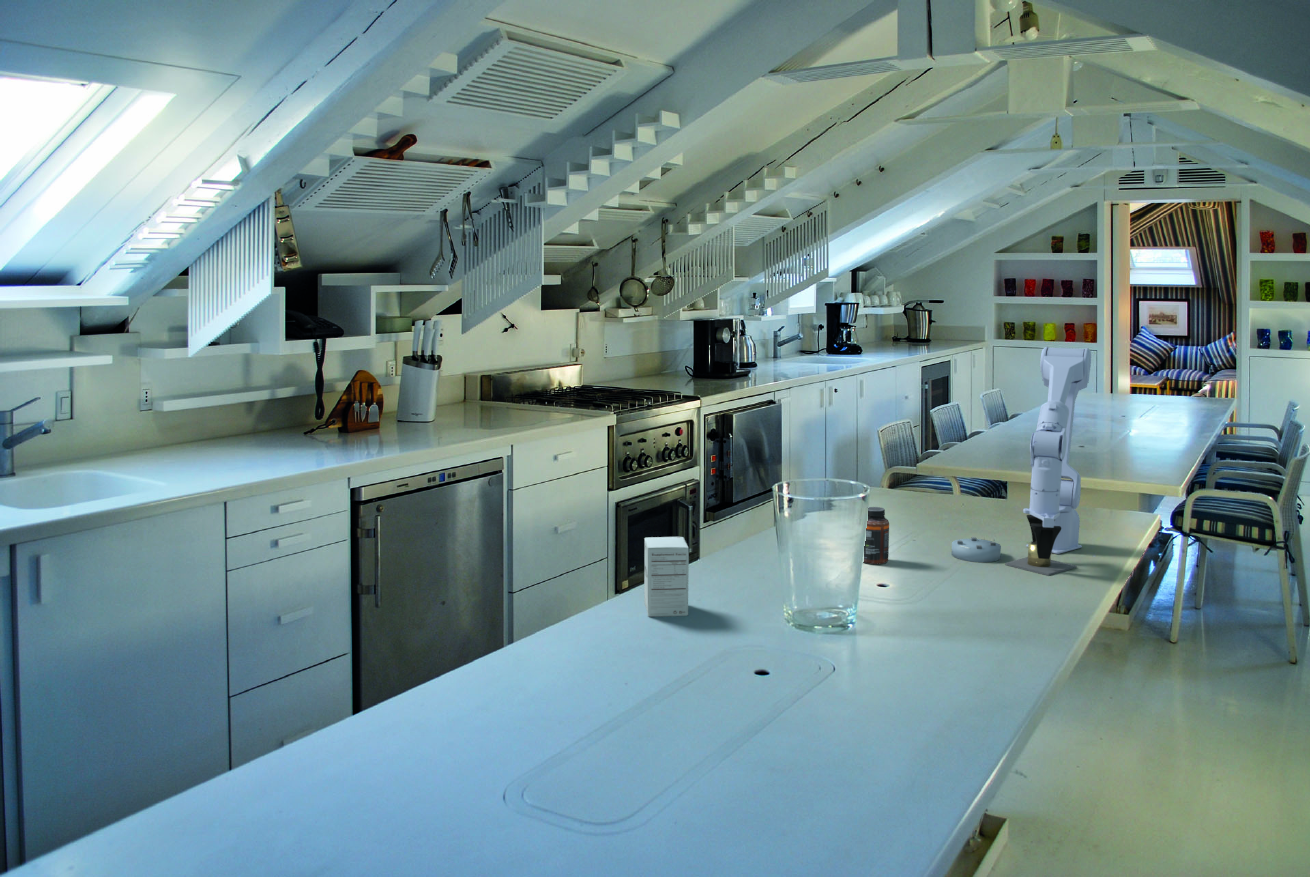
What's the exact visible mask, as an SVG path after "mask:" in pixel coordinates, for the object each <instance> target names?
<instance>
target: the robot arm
mask: <svg viewBox="0 0 1310 877" xmlns="http://www.w3.org/2000/svg"><path fill="white" fill-rule="evenodd" d="M1039 361H1040V363H1039V365H1040V366H1039V367H1040V368H1039V370H1040V373H1041V379H1042V382H1043V385H1044V386H1045V387H1047V388H1048V390H1047V393H1048V394H1047V401H1046V402H1045V403H1042V404H1041V406H1040V409H1039V412H1038V418H1037V424H1036V429H1035V432H1032V433H1031V436H1030V443H1029V453H1030V467H1031V478H1030V491H1029V493H1030V494H1029V495H1030V497H1029V508H1027V507H1026V508H1023V510H1022V512H1023V514H1026V515H1025V516H1026V518H1027V521H1028V523H1029V526H1030V527H1029V528H1030V531H1031V539H1032V540H1031V541H1032V542H1036V546H1037V554H1038V558H1040V559H1049V558H1050V555H1051V556H1052V553H1053V554H1058V555H1060V554H1063V553H1066V552H1070V551H1073V550H1074V551H1075V550H1077V549H1081V548H1083V547H1082V545H1081V544H1079V539H1080V538H1079V537H1080V522H1081V520H1080V518H1081V517H1080V516H1079V513H1078V511H1077V510H1076V509H1077V508H1079V505H1080V501H1081V494H1082V492H1081V490H1082V489H1081V488H1082V486H1081V481H1082V477H1081V475H1080V473H1079V472H1078V470H1077V469H1075V468H1074V467H1072V466H1071V465H1070V464H1069V463H1070V457H1071V455H1070V454H1071V446H1072V445H1071V444H1072V436H1073V428H1074V427H1073V423H1074V418H1075V417H1074V415H1075V404H1076V399H1077V397H1078V394H1079V391H1082V390H1083V389H1086V388H1088V384H1089V382H1090V372H1091V364H1092V352H1091V349H1089V347H1085V348H1079V347H1078V348H1077V347H1075V348H1074V347H1049V346H1045V347H1044V348H1042V350H1041V354H1040V360H1039ZM1025 547H1027V548H1028V544H1027V543H1026V545H1025Z"/></svg>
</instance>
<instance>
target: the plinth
mask: <svg viewBox="0 0 1310 877" xmlns="http://www.w3.org/2000/svg"><path fill="white" fill-rule="evenodd" d="M1001 549H1002V546H1001V544H1000V543H999V542H998V543H997V542H996V541H992V540H986V539H979V538H977V537H975V536H974V537H973V536H971V538H960V539H955V540H953V541H952V542H951V556H952V557H953V558H955V559H958V560H960V561H961V560H962V561H966V562H975V563H991V562H996V561H1000V559H1001Z"/></svg>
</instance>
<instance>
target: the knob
mask: <svg viewBox="0 0 1310 877" xmlns="http://www.w3.org/2000/svg"><path fill="white" fill-rule="evenodd" d="M1027 557H1028V561H1027V564H1029V565H1031V566H1035V567H1049V566H1050V565H1051V560H1052V554H1051V555H1050V558H1049V559H1040V558H1038V554H1037V546H1036V542H1033V541H1032V540H1031V541H1029V542H1028V547H1027Z"/></svg>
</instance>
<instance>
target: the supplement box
mask: <svg viewBox="0 0 1310 877" xmlns="http://www.w3.org/2000/svg"><path fill="white" fill-rule="evenodd" d="M689 550H690V548H689V546H688V543H687V541H686V540H685V537H684V536H661V537H659V536H657V537H656V536H655V537H653V536H651V537H644V570H643V571H644V573H643V574H644V577H643V578H644V589H643V590H644V592H643V594H644V600H643V602H644V606H645V609H646V613H647V617H656V618H657V617H686V616H689V570H690V569H689V568H690V566H689V562H690V561H689V560H690V559H689V558H690V557H689Z"/></svg>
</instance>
